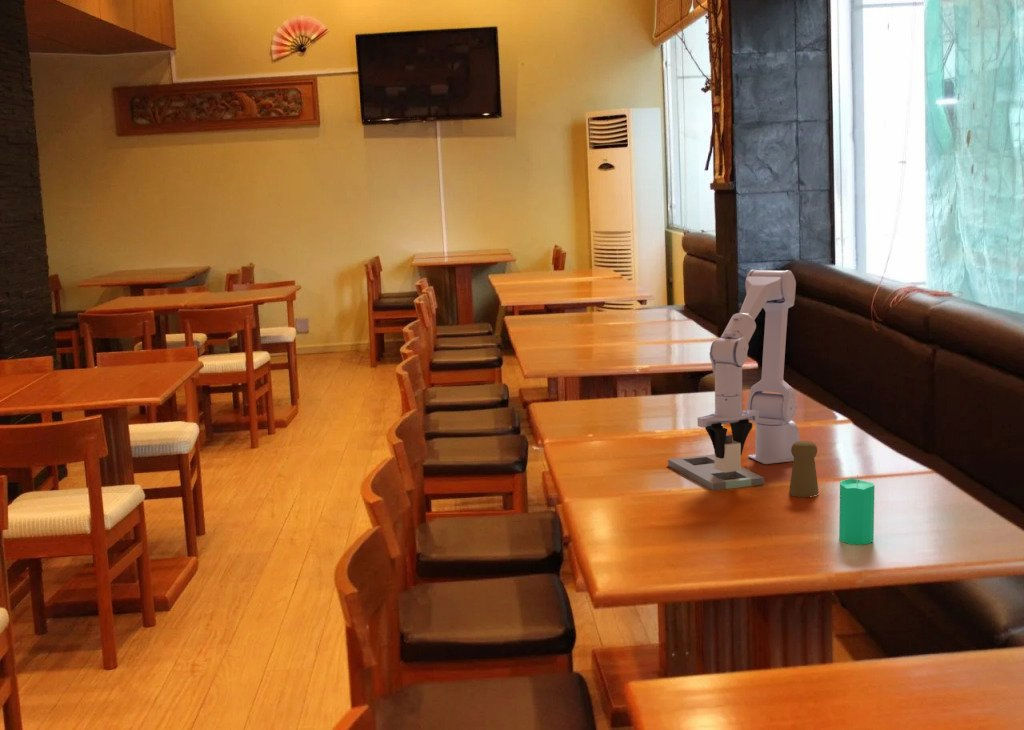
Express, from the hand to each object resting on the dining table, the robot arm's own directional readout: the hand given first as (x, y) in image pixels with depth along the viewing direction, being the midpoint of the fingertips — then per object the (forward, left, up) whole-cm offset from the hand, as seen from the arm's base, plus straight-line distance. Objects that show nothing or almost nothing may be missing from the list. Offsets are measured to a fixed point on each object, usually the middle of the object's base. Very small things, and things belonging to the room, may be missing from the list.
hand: (728, 456), depth 248 cm
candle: (-3, +44, -6) cm, 45 cm away
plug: (0, 0, -3) cm, 3 cm away
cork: (-10, +14, -6) cm, 18 cm away
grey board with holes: (0, -7, -6) cm, 9 cm away
